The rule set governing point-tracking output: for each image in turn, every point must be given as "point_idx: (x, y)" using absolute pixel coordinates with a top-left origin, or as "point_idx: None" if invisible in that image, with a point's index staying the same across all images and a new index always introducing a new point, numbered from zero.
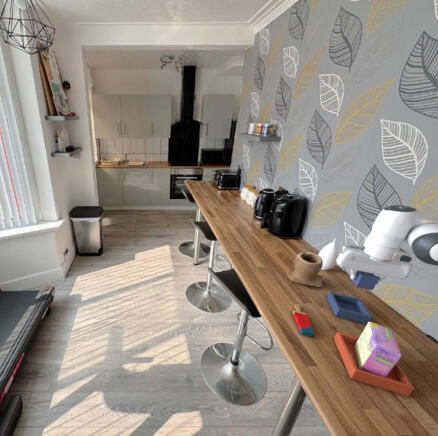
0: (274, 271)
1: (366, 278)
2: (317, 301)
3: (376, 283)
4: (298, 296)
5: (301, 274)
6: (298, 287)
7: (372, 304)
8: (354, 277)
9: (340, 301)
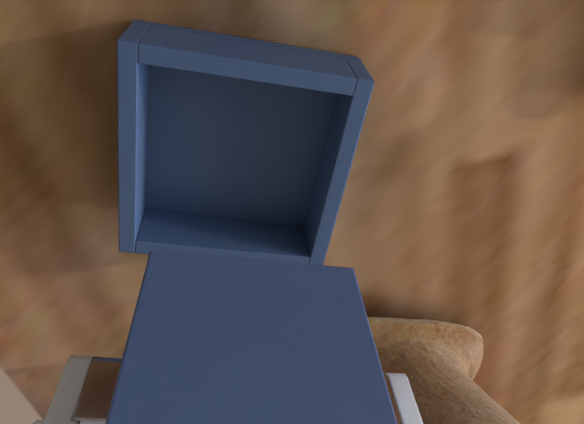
0: (511, 382)
1: (314, 420)
2: (402, 188)
3: (84, 367)
4: (510, 206)
5: (469, 381)
6: (450, 288)
7: (8, 246)
8: (401, 407)
9: (241, 218)
